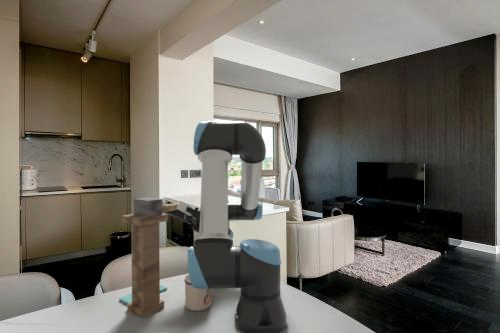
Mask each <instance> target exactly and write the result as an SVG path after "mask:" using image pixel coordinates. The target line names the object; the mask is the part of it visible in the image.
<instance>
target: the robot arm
mask: <svg viewBox="0 0 500 333" xmlns="http://www.w3.org/2000/svg"><path fill="white" fill-rule="evenodd" d="M192 146H193V153H194V155H195V156H197V160H198V161H199V162H200V163H201V164H202V165H201V182H200V183H201V186H200V208H199V207H196V206H195V208H193V207H192V206H190V205H189V204H187V203H185V202H184V201H183V200H180V201H179V202H178V203H179V204H178V206H177V209H178V210H173V211H167V212H162V213H163V214H168V216H170V217H173V218H176V219H178V220H180V221H182V222H184V223H187V224H189V225H190V226H191V229H192V230H193V231H194V232H196V233H197V234H198V235H197V236H196V238H194V239H193V246H192V245H191V246H190V247H188V248H187V267H188V275H189V276H190V281H191V284H192V286H193V287H194V288H196V289H207V290H209V289H212V290H221V289H223V290H224V289H240V296H239V299H238V303H237V305H236V306H237V307H236V309H235V312H234V325H235V327H236V328H237V329H238V330H239V331H240V332H242V333H280V332H282V331H284V329H285V328H286V325H287V312H286V311H285V306H284V303H283V300H282V297H281V264H282V260H281V251H280V248H279V246H277V244H274V243H273V242H270V241H267V240H264V239H263V240H262V239H258V238H255V239H253V238H248V239H243V240H241V242H240V243H239V245H234V239H233V237H234V232H233V230H232V229H231V228H230V227H229V226H230V225H229V221H258V220H259V221H260V220H261V219H262V218H263V205H262V202H259V201H260V200H259V199H260V189H261V187H260V186H261V176H262V168H263V167H262V166H263V165H262V164H263V162H264V161H265V159H266V154H267V149H266V143H265V140H264V138H263V136H262V135H261V133H260V131H259V130H258V129H257V128H256V127H255V126H254V125H252V124H250V123H248V122H246V121H244V120H243V121H241V120H237V121H232V120H230V121H229V120H227V121H224V120H223V121H216V120H215V121H213V120H207V121H205V120H204V121H200V122H198V124H197V125H196V128H195V131H194V135H193V145H192ZM233 156H239V157H238V158H239V159H240V160H241V174H240V175H241V181H240V202H229V163H231V162H232V160H233ZM166 204H167V203H166V202H164V201H162V205H166Z"/></svg>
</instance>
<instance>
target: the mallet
mask: <svg viewBox="0 0 500 333" xmlns="http://www.w3.org/2000/svg"><path fill="white" fill-rule="evenodd" d="M162 202H163V198H156V197H155V198H154V197H147V196H146V197H140V198H133V214H134V215H140V216H146V217H152V216H158V215H162V213H163V212H167V211H173V210H178V209H177V206H178V204H179V202H175V203H174V202H173V203H166V205H162Z"/></svg>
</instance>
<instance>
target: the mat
mask: <svg viewBox="0 0 500 333" xmlns="http://www.w3.org/2000/svg"><path fill="white" fill-rule="evenodd" d="M167 290H168V287H166V286H164V285H162V284H160V294H161V293H162V292H165V291H167ZM119 302H121V303H123V304H125V305H127V304H128V303H130V302H132V293H130V294H127V295H125V296H122V297H120V298H119Z"/></svg>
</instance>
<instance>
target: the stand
mask: <svg viewBox="0 0 500 333" xmlns="http://www.w3.org/2000/svg"><path fill="white" fill-rule="evenodd" d="M168 221H169V215H168V214H163V212H162V215H158V216H152V217H146V216H140V215H134V213H129V214H123V215H121V223H125V224H129V225H131V230H130V231H131V232H130V233H131V294H132V302H130V303H128V304H126V305H127V306H126V307H127V308H126V310H127V311H128V312H129V313H132V314H134V315H135V316H138V317H140V318H145V317H147V316H149V315H151V314H154V313H156V312H157V311H160V310H162V309H164V308H165V300H162V299H160V298H161V297H160V295H161V293H160V285H161V284H160V283H161V282H160V279H161V278H160V275H161V274H160V223H162V222H168Z"/></svg>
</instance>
